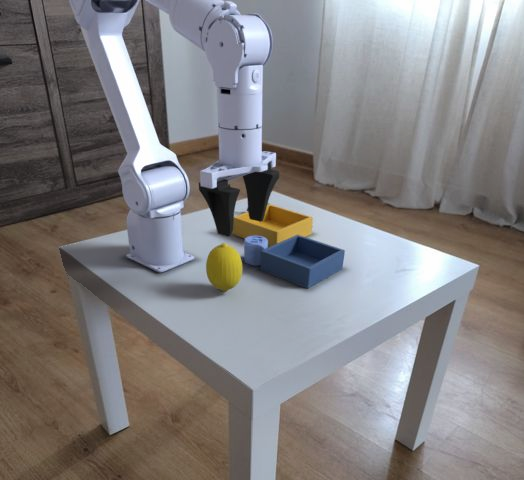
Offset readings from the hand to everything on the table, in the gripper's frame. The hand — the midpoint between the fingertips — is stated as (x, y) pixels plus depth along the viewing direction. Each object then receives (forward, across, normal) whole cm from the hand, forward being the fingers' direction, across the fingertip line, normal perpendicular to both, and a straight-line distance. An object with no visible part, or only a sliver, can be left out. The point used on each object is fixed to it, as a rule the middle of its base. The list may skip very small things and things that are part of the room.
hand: (241, 227), depth 71 cm
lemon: (+11, -2, +2) cm, 11 cm away
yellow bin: (+10, +23, +10) cm, 27 cm away
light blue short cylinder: (+11, +11, +5) cm, 16 cm away
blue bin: (+11, +13, -3) cm, 17 cm away
